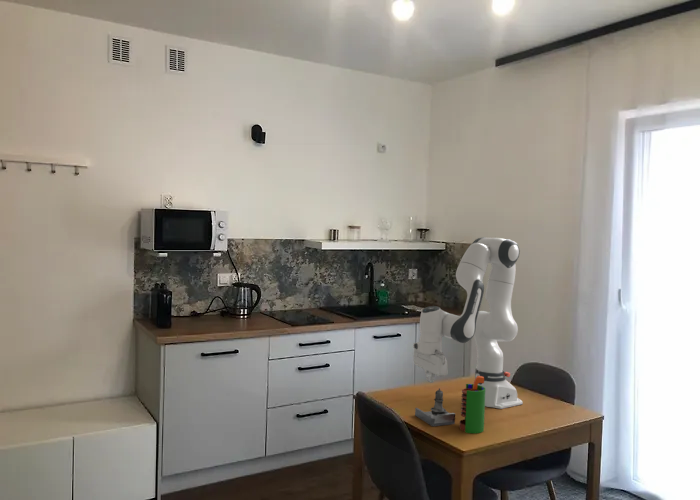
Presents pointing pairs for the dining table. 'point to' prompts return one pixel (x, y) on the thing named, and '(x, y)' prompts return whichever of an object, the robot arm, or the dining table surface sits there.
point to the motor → (473, 407)
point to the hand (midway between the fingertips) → (429, 381)
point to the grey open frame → (435, 418)
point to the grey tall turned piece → (438, 403)
